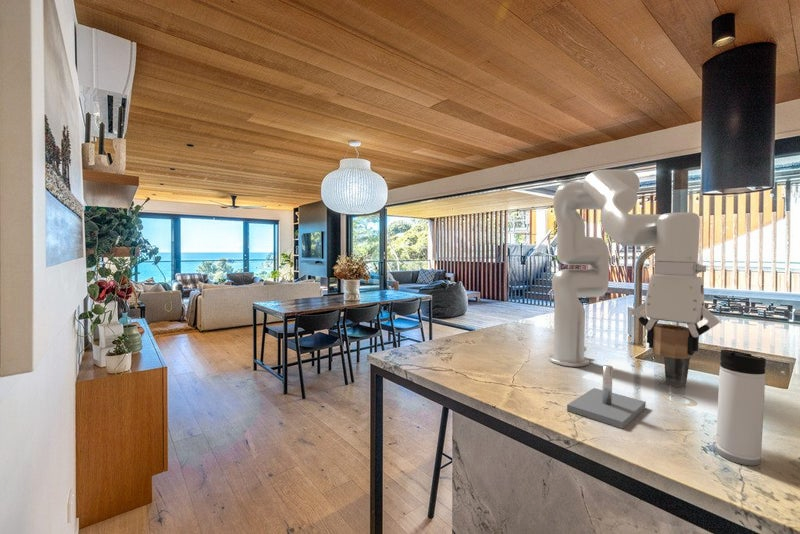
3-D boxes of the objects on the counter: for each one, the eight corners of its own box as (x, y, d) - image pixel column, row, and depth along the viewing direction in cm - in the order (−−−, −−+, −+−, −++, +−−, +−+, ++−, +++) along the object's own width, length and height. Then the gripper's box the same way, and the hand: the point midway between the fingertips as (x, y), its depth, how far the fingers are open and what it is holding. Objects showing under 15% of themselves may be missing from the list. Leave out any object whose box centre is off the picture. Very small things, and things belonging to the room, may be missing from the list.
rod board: (593, 393, 100) (593, 387, 100) (645, 407, 92) (645, 401, 91) (566, 410, 90) (567, 404, 90) (622, 428, 81) (622, 422, 81)
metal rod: (603, 400, 92) (605, 364, 92) (612, 403, 91) (613, 366, 90) (600, 403, 91) (601, 366, 90) (609, 405, 89) (610, 368, 89)
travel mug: (705, 448, 73) (709, 347, 72) (736, 447, 74) (741, 346, 73) (736, 467, 67) (742, 356, 66) (770, 465, 67) (776, 355, 66)
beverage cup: (693, 384, 107) (696, 314, 106) (690, 391, 102) (693, 318, 101) (662, 378, 112) (664, 311, 111) (657, 385, 107) (660, 315, 106)
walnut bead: (658, 348, 88) (659, 322, 87) (692, 354, 83) (693, 327, 83) (649, 353, 84) (651, 327, 83) (685, 360, 79) (687, 332, 78)
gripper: (730, 271, 78) (725, 355, 79) (636, 266, 91) (632, 339, 92) (724, 273, 73) (719, 363, 74) (625, 268, 86) (622, 345, 87)
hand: (671, 349), depth 83 cm, fingers closed on walnut bead, 6 cm apart
